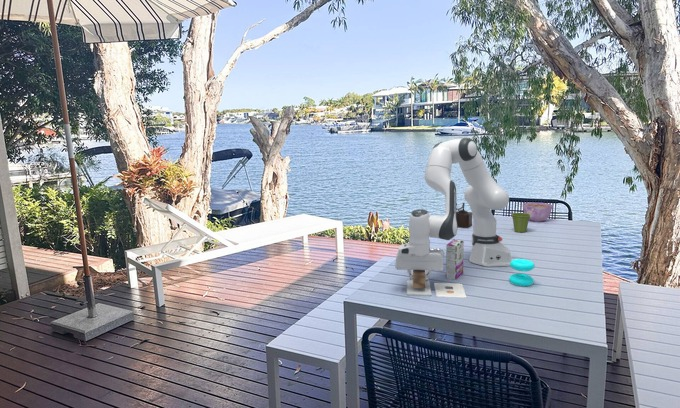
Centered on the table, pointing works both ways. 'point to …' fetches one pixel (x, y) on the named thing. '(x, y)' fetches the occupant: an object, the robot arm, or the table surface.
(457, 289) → the plate
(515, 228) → the plant pot
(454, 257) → the candy bar box
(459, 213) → the manual coffee grinder
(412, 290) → the grey mat
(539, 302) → the table surface
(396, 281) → the table surface
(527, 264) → the donuts
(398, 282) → the table surface
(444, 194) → the robot arm
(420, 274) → the walnut block
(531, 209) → the bowl of food
